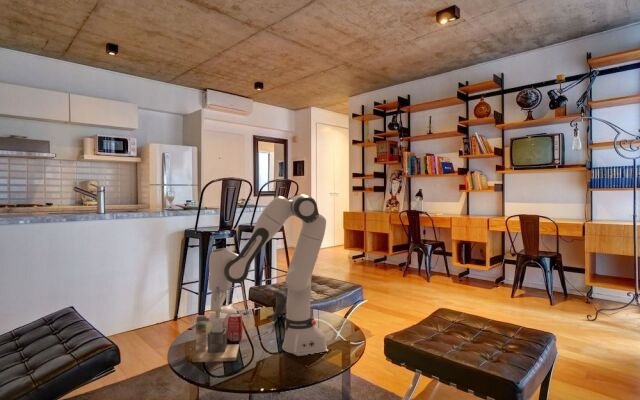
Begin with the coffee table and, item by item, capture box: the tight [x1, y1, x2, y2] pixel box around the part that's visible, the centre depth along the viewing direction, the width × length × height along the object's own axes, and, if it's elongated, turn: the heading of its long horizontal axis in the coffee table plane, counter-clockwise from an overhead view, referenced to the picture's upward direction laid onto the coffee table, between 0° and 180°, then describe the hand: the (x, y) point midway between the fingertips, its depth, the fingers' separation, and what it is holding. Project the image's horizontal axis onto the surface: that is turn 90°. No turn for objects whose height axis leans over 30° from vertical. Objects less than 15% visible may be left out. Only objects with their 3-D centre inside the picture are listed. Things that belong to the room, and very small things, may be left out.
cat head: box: [209, 303, 238, 331], centre depth 192 cm, size 15×13×12 cm
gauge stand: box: [191, 314, 240, 363], centre depth 161 cm, size 18×14×17 cm
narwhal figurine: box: [266, 286, 288, 321], centre depth 212 cm, size 14×15×18 cm
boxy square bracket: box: [196, 312, 227, 334], centre depth 162 cm, size 12×7×10 cm, turn 97°
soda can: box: [227, 312, 244, 342], centre depth 178 cm, size 7×7×12 cm
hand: (218, 315), depth 163 cm, fingers closed, pressing on boxy square bracket
